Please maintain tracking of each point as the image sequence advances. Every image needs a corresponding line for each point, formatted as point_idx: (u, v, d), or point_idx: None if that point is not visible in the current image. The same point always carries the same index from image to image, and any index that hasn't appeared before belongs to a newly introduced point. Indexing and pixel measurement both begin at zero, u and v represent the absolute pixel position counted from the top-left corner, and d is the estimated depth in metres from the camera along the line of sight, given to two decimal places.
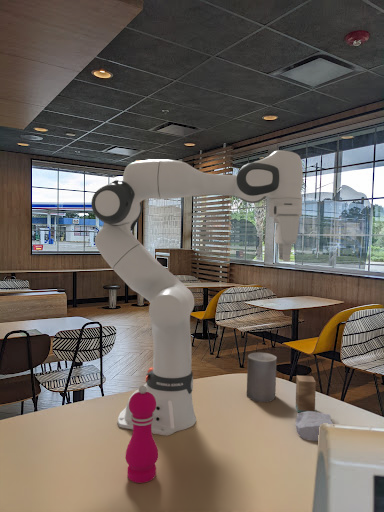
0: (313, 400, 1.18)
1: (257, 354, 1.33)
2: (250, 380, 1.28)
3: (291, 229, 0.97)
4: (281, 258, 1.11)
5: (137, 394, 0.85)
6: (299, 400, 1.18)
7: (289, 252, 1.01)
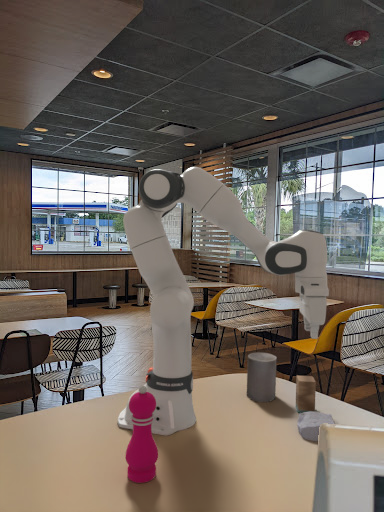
0: (313, 400, 1.18)
1: (257, 354, 1.33)
2: (250, 380, 1.28)
3: (320, 311, 1.01)
4: (307, 329, 1.15)
5: (137, 394, 0.85)
6: (299, 400, 1.18)
7: (317, 330, 1.05)
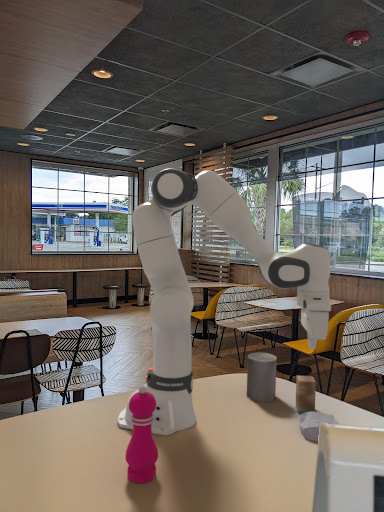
0: (313, 400, 1.18)
1: (257, 354, 1.33)
2: (250, 380, 1.28)
3: (322, 326, 1.02)
4: None
5: (137, 394, 0.85)
6: (299, 400, 1.18)
7: (315, 341, 1.10)
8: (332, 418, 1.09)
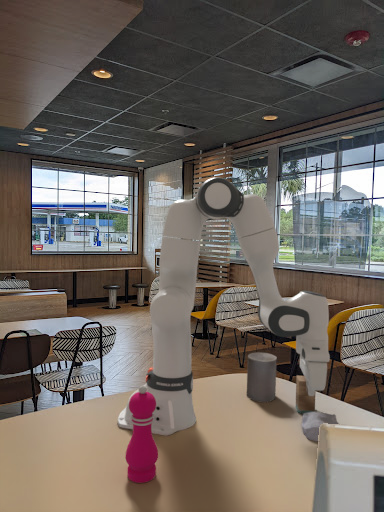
0: (313, 400, 1.18)
1: (257, 354, 1.33)
2: (250, 380, 1.28)
3: (320, 377, 1.02)
4: None
5: (137, 394, 0.85)
6: (299, 400, 1.18)
7: None
8: (334, 418, 1.09)
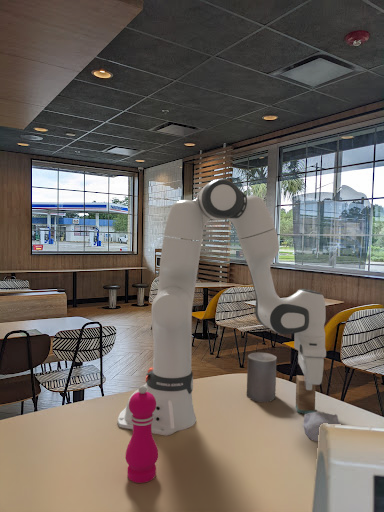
0: (313, 400, 1.18)
1: (257, 354, 1.33)
2: (250, 380, 1.28)
3: (317, 372, 1.07)
4: None
5: (137, 394, 0.85)
6: (299, 400, 1.18)
7: None
8: (336, 418, 1.09)
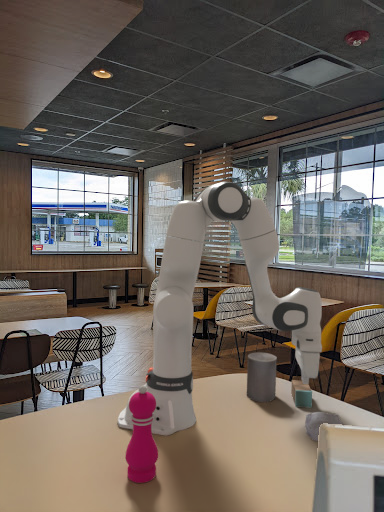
0: (308, 386, 1.27)
1: (257, 354, 1.33)
2: (250, 380, 1.28)
3: (313, 366, 1.12)
4: None
5: (137, 394, 0.85)
6: (295, 386, 1.27)
7: None
8: (338, 418, 1.09)
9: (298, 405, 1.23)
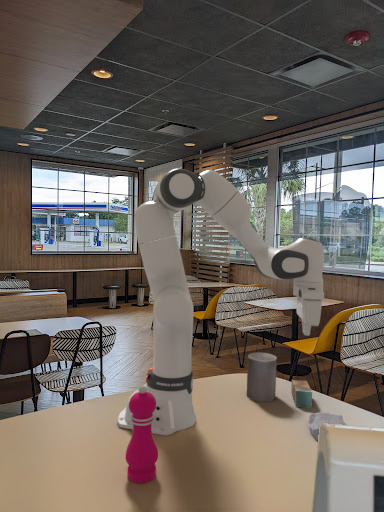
0: (308, 386, 1.27)
1: (257, 354, 1.33)
2: (250, 380, 1.28)
3: (315, 313, 1.11)
4: None
5: (137, 394, 0.85)
6: (295, 386, 1.27)
7: (309, 328, 1.19)
8: (341, 419, 1.08)
9: (298, 405, 1.23)
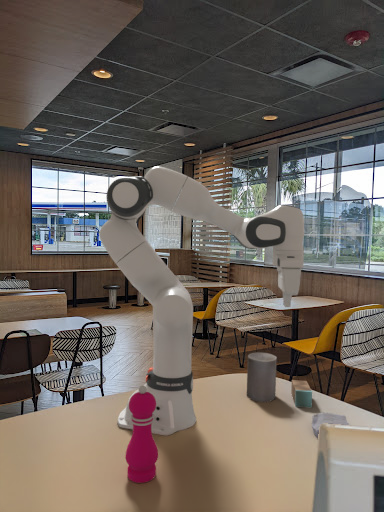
0: (308, 386, 1.27)
1: (257, 354, 1.33)
2: (250, 380, 1.28)
3: (294, 282, 1.05)
4: None
5: (137, 394, 0.85)
6: (295, 386, 1.27)
7: (290, 299, 1.13)
8: (344, 419, 1.08)
9: (298, 405, 1.23)
